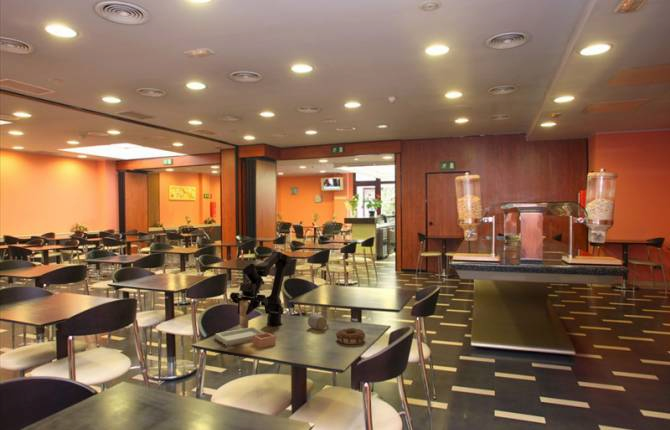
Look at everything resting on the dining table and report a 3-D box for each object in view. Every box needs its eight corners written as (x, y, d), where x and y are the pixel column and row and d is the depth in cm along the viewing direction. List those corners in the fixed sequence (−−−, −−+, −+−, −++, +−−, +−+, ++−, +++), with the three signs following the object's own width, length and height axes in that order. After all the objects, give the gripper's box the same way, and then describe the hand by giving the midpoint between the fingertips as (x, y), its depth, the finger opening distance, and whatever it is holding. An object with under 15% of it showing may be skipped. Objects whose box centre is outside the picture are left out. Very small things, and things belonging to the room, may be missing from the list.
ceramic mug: (317, 331, 215) (317, 317, 215) (307, 328, 222) (307, 313, 222) (332, 328, 222) (332, 314, 222) (322, 325, 229) (322, 311, 229)
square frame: (267, 340, 201) (267, 332, 201) (275, 344, 195) (275, 336, 195) (253, 343, 196) (253, 335, 196) (260, 348, 190) (260, 339, 190)
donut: (368, 338, 206) (368, 328, 205) (360, 347, 193) (360, 336, 193) (340, 335, 210) (340, 325, 210) (331, 343, 197) (331, 333, 197)
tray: (253, 331, 216) (253, 326, 215) (266, 338, 204) (266, 333, 204) (215, 338, 204) (215, 333, 203) (227, 346, 192) (227, 340, 192)
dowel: (247, 325, 201) (247, 299, 201) (248, 328, 198) (248, 301, 197) (239, 326, 200) (239, 300, 200) (240, 328, 196) (240, 302, 196)
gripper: (231, 275, 205) (218, 303, 195) (265, 278, 199) (253, 306, 189) (240, 289, 213) (228, 315, 203) (273, 291, 207) (262, 319, 197)
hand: (242, 314), depth 198 cm, fingers closed on dowel, 4 cm apart
